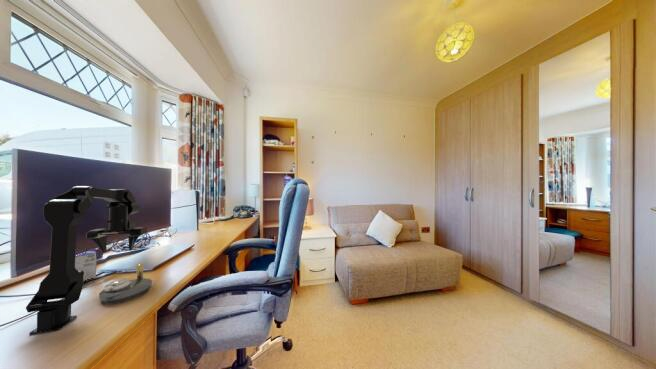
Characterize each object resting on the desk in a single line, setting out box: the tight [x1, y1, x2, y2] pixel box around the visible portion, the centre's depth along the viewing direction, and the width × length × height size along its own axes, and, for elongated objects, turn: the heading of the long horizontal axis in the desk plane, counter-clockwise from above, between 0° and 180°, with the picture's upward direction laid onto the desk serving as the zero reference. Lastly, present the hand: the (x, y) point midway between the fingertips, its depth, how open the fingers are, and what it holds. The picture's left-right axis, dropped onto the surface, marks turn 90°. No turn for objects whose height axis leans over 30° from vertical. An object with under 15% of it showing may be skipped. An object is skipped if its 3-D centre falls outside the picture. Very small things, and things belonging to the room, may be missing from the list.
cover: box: [104, 278, 131, 293], centre depth 79 cm, size 7×7×3 cm
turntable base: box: [102, 288, 150, 305], centre depth 80 cm, size 13×13×1 cm
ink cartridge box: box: [75, 250, 97, 282], centre depth 90 cm, size 10×6×14 cm, turn 145°
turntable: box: [98, 263, 153, 302], centre depth 81 cm, size 17×15×8 cm
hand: (117, 251), depth 88 cm, fingers open, 9 cm apart
